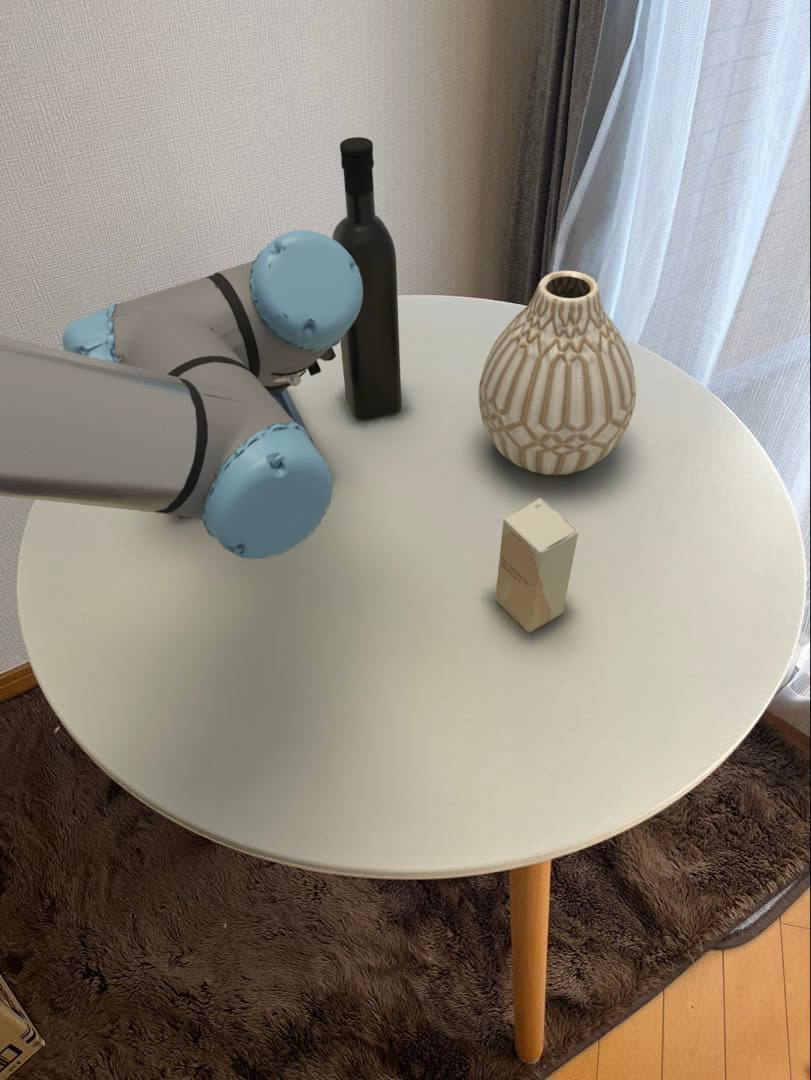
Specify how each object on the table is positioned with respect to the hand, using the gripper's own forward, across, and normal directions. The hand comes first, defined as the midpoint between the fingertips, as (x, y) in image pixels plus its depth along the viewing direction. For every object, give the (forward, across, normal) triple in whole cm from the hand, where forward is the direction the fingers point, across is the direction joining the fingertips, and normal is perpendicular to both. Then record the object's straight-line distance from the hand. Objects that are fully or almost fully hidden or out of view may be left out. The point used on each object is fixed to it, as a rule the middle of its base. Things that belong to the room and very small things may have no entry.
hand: (223, 397), depth 92 cm
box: (-18, +14, -30) cm, 38 cm away
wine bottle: (+6, +17, -6) cm, 19 cm away
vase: (-6, +29, -18) cm, 35 cm away
